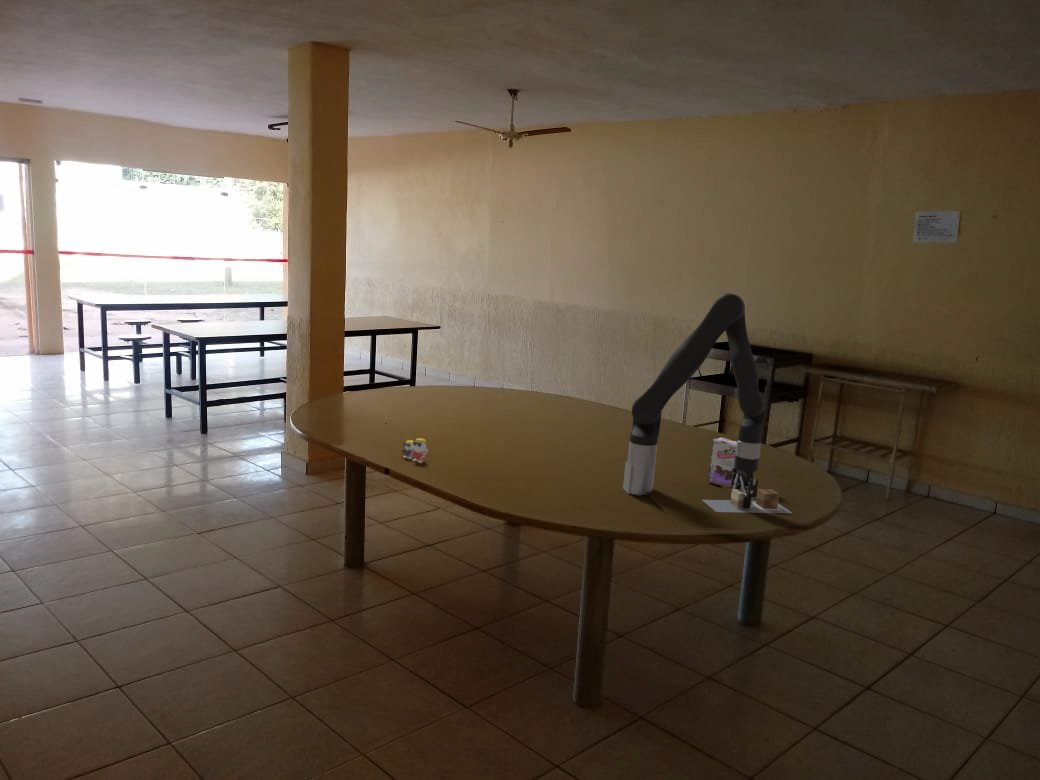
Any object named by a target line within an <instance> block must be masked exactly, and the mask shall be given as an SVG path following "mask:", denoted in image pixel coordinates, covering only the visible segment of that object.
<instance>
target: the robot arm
mask: <svg viewBox="0 0 1040 780" xmlns="http://www.w3.org/2000/svg"><path fill="white" fill-rule="evenodd" d="M745 310H746V303H745V302H744V300H743V298H742V297H741V296H739V295H738V294H736V293H735V294H734V293H729V292H728V293H723V294H721V295H720V296H718V297H717V298H716V299H715V301H714V302H713V304H712V305H711V307H710V309H709V310H708V312H707V314H706V315H705V316H704V318H703V319H702V320H701V322H700V323H699V325H698V326H697V327H696V328H695V329H693V331H692V332H691V333H690V334H689V335H688V336H687V337H686V338H685V339H684V340H683V342H682V343H681V344H680V345H679V346H678V347H677V348H676V349H675V351H674V352H673V353H672V354H671V357H670V358H669V359H668V360H667V362H666V363H665V365H664V366H663V367H662V369H661V371H660V372H659V374H658V376H657V378H656V379H655V381H654V382H653V383H651V385H650V386H649V387H648V389H646V390H645V392H643V393H642V395H640V396H638V397H637V398H636V400H635V401H634V402H633V404H632V406H631V415H632V425H631V431H630V436H629V442H628V443H629V445H628V454H627V461H625V465H624V474H623V485H622V489H623V491H625V492H626V493H627V494H628V495H634V494H635V496H641V495H646V496H651V492H653V489H654V480H655V479H654V478H655V471H656V470H655V469H656V461H657V451H658V450H657V449H658V443H659V435H660V430H661V421H662V412H663V409H664V408H665V406H667V403H668V402H669V401H670V399H671V398H672V397H673V396H674V395H675V394H676V393H677V392H678V391H679V390H680V389H681V388H682V387H683V386H684V385H685V384H686V383H687V382H688V381H689V380H690V379H691V378H692V376H694V375H695V373H696V372H697V371H698V370H699V369H700V367H701V366H702V365H703V363H704V362H705V361H706V359H707V358H708V356H709V355H710V353H711V352H712V350H713V348H714V346H715V344H716V342H717V341H718V339H719V338H720V337H721V336H722V335H723V333H724V332H725V333H726V338H727V341H728V347H729V355H730V362H731V367H732V371H733V375H734V379H735V382H736V385H737V386H736V388H737V399H738V404H739V407H740V410H741V413H743V416H742V421H741V423H740V425H739V429H738V437H737V441H736V442H737V445H736V452H735V460H734V468H733V469H732V478H731V485H732V486H733V488H732V489H741V488H742V490H743V491H744V501H743V508H745V509H749V508H750V505H751V498H752V497H753V498H757V490H758V485H759V479H757V478H754V473H755V472H758V470H759V465H760V464H759V463H760V456H761V440H762V435H763V426H764V421H765V418H766V414H767V407H768V403H767V402H768V401H767V398H766V397H765V396H764V395H763V394H762V393H760V390H759V385H758V384H759V380H760V379H759V378H760V377H759V374H758V370H757V367H756V365H757V364H756V363H755V359H754V354H753V352H752V348H751V344H750V341H749V340H750V339H749V337H748V330H747V325H746V324H747V323H746V313H745ZM734 479H735V480H734ZM747 490H748V492H747Z"/></svg>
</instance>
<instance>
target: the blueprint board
mask: <svg viewBox="0 0 1040 780" xmlns="http://www.w3.org/2000/svg"><path fill="white" fill-rule="evenodd" d="M701 501H702V502H703V503H705V504H706V505H707V506H709V507H710V508H711V509H712V510H713V511H714V512H715V513H741V514H742V513H746V514H747V513H749V514H750V513H752V514H754V513H755V514H759V513H760V514H762V513H763V514H793V512H792V511H790V510H789V509H787V508H786V507H784V506H783V505H782V504H780V503H779V502H778V507H777V509H763V508H761V507H760V506H758V505H757V504H756V500H753V501H752V509H737V508H735V507H734V506H733V505H731V504H730V502H731V499H701Z"/></svg>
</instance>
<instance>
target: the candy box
mask: <svg viewBox="0 0 1040 780" xmlns="http://www.w3.org/2000/svg"><path fill="white" fill-rule="evenodd" d="M736 445H737V441H735V440H731V439H728V438H724V437H718V438H713V440H712V446H711V447H712V448H711V455H710V462H709V470H708V480H710V481H713V482H717V483H721V484H725V485H728V486H732V485H731V478H732V469H733V468H734V460H735V452H736ZM708 480H707V481H708ZM734 480H735V479H734ZM732 487H733V486H732ZM741 489H742V488H741Z"/></svg>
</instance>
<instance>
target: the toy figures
mask: <svg viewBox="0 0 1040 780" xmlns="http://www.w3.org/2000/svg"><path fill="white" fill-rule="evenodd" d="M426 442H427V441H426V439H424V438H421V437H419V438H416V439H415V440H413V439H412V440H411V439H409V440H408V439H407V440H406V441H405V442H404V443H403V444H402V445H403V446H404V448H403V449H402V450H401V453H402V454H404V455H403V456H402V458H405V459H408V460H411V461H412V462H414V461H417V462H416V463H418V464H419V463H420V464H423V463H424V459H423V458H426V456H427V454H428V452H429V449H428V448H427V444H426ZM413 457H414V458H413ZM422 462H423V463H422Z"/></svg>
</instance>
